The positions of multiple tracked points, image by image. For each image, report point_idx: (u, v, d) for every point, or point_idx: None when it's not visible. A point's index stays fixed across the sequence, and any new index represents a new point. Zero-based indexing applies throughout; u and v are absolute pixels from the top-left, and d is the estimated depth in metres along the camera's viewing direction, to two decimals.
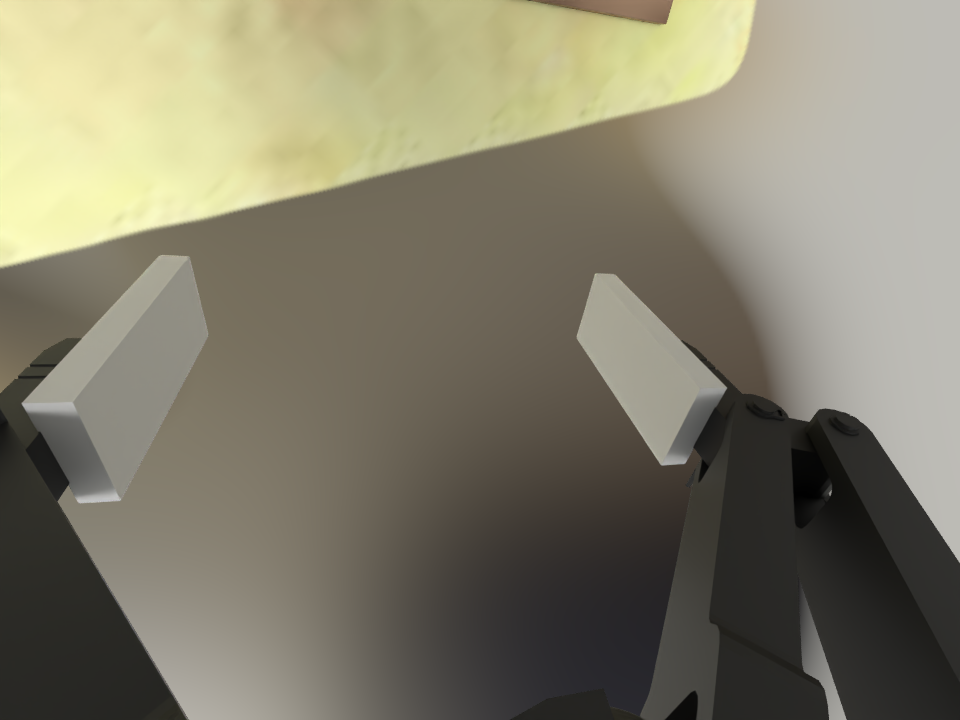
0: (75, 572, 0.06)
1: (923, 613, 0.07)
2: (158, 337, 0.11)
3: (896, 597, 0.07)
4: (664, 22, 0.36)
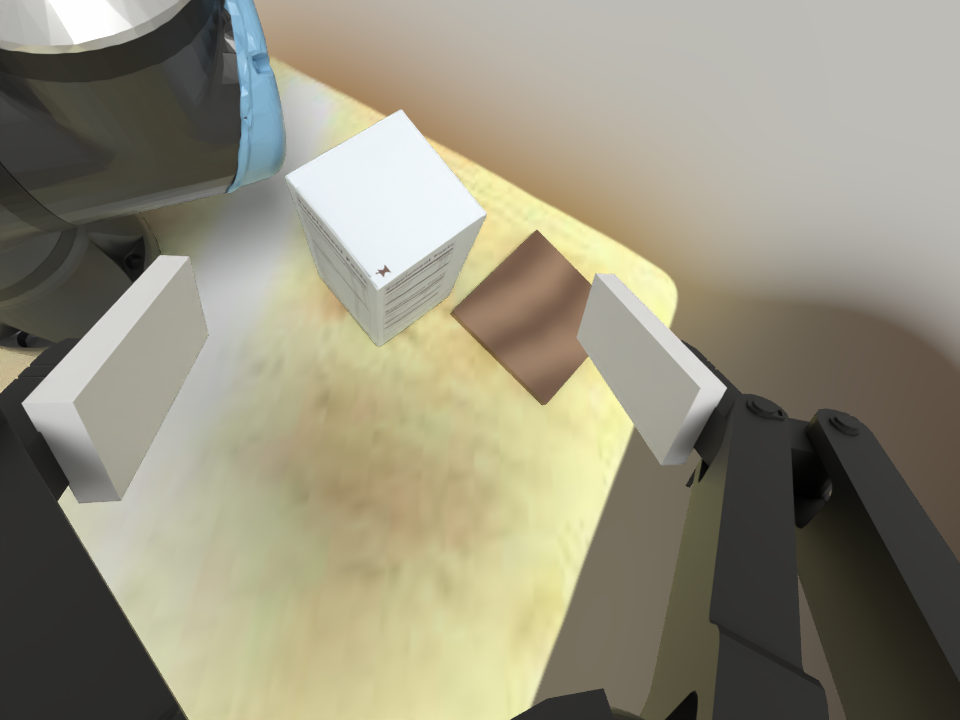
0: (74, 572, 0.06)
1: (923, 613, 0.07)
2: (158, 337, 0.11)
3: (896, 597, 0.07)
4: None
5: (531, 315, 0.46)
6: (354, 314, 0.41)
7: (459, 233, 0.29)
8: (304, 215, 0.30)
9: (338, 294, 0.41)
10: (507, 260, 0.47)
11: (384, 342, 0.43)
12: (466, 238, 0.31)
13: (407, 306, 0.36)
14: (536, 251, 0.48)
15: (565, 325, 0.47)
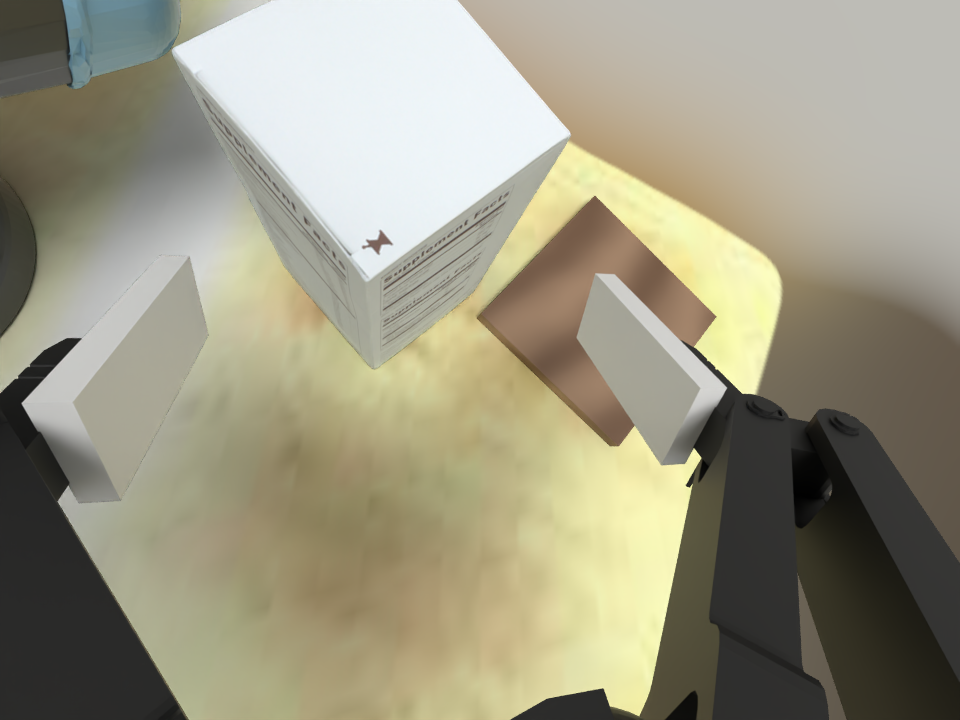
0: (74, 571, 0.06)
1: (923, 613, 0.07)
2: (158, 337, 0.11)
3: (896, 597, 0.07)
4: (714, 317, 0.35)
5: None
6: (335, 322, 0.27)
7: (521, 170, 0.15)
8: (226, 143, 0.16)
9: (310, 292, 0.27)
10: (556, 239, 0.33)
11: (382, 362, 0.29)
12: (528, 185, 0.17)
13: (419, 310, 0.22)
14: (595, 226, 0.34)
15: None
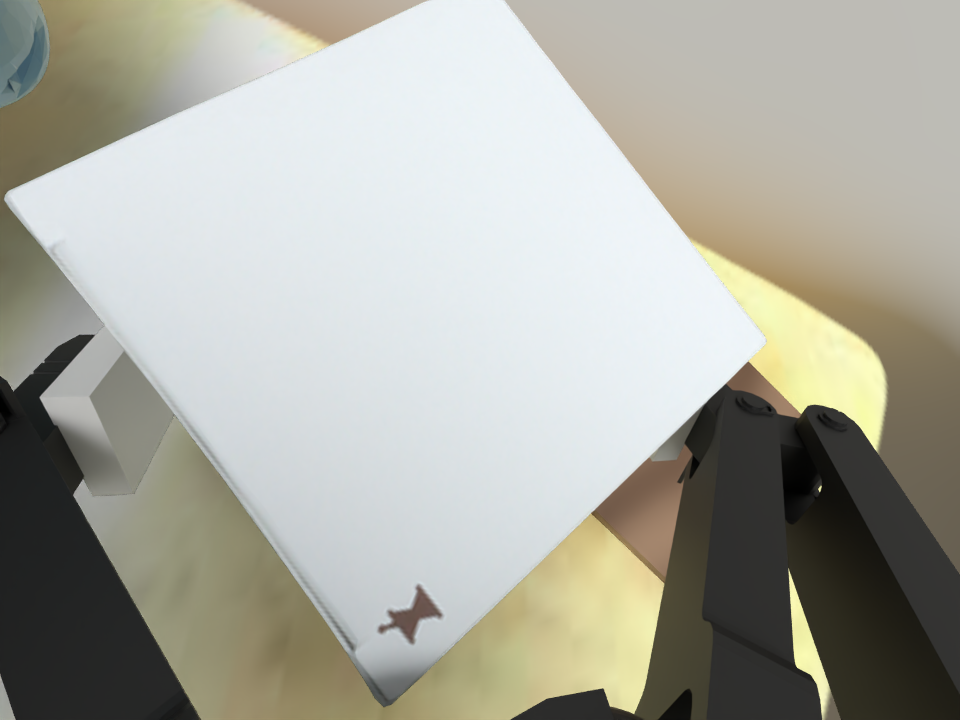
0: (88, 563, 0.06)
1: (913, 608, 0.07)
2: None
3: (886, 591, 0.08)
4: None
5: None
6: None
7: (683, 418, 0.08)
8: None
9: None
10: None
11: None
12: None
13: None
14: None
15: None
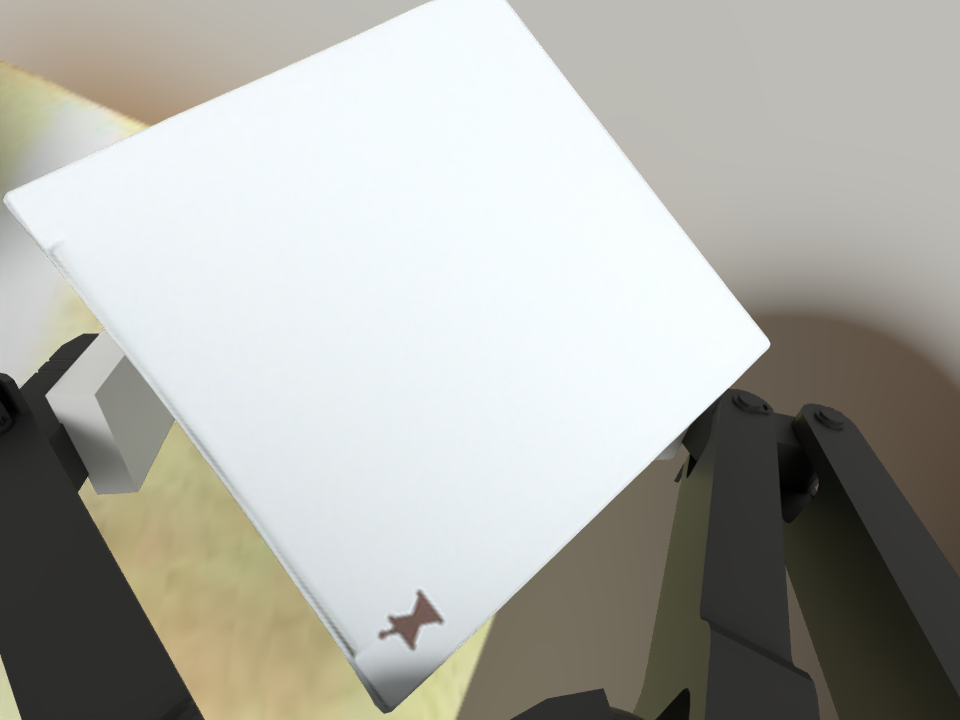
0: (93, 561, 0.06)
1: (910, 606, 0.07)
2: None
3: (883, 590, 0.08)
4: None
5: None
6: None
7: (687, 422, 0.08)
8: None
9: None
10: None
11: None
12: None
13: None
14: None
15: None
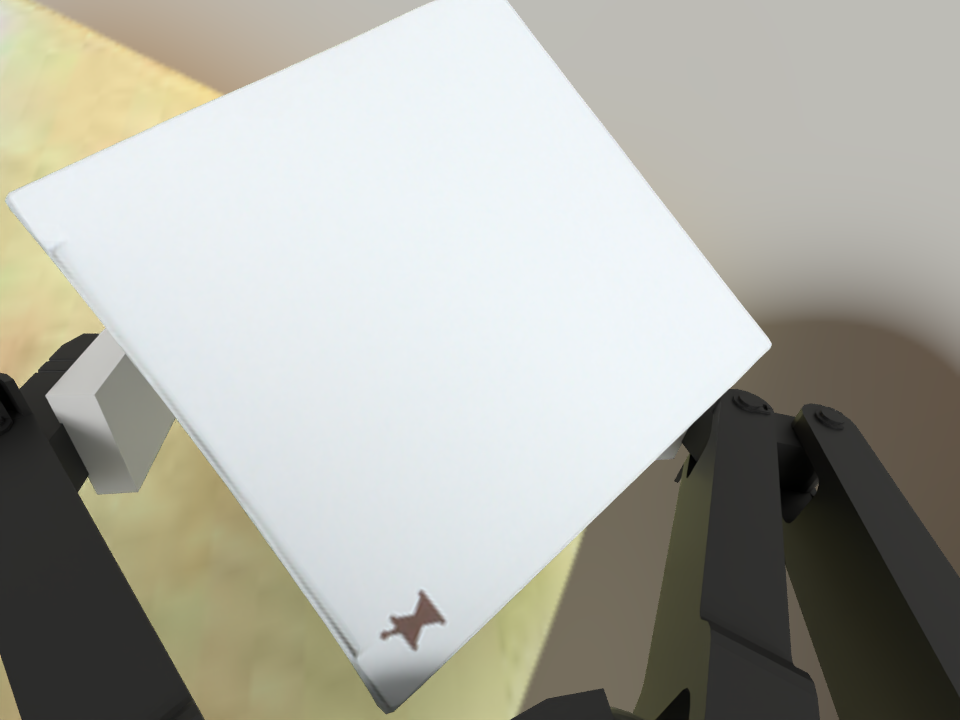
0: (93, 562, 0.06)
1: (910, 606, 0.07)
2: None
3: (883, 590, 0.08)
4: None
5: None
6: None
7: (688, 422, 0.08)
8: None
9: None
10: None
11: None
12: None
13: None
14: None
15: None
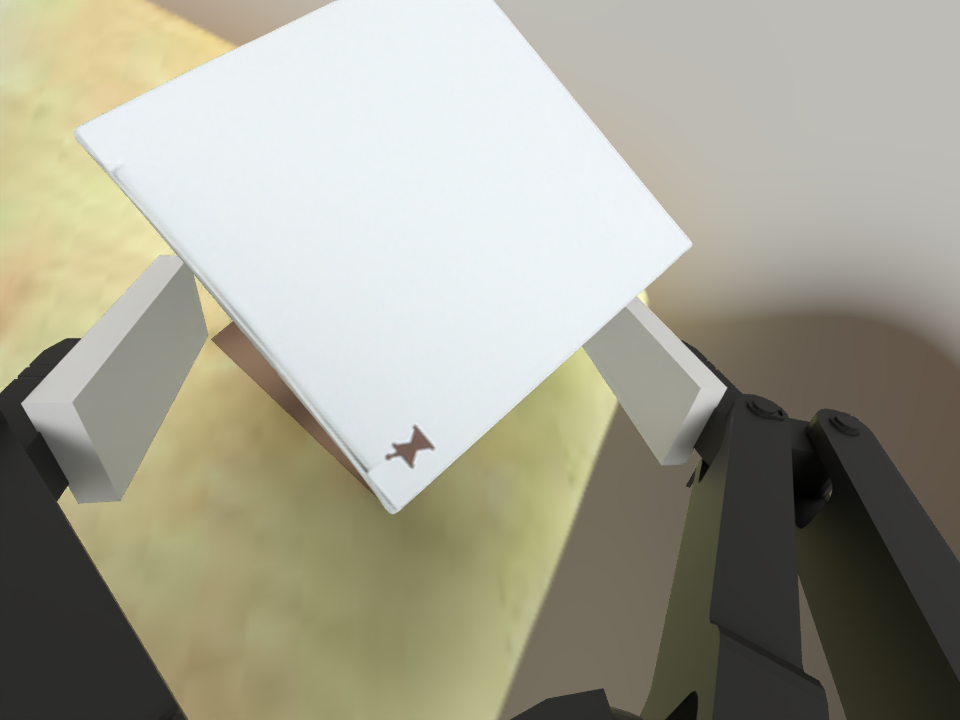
0: (73, 572, 0.06)
1: (923, 613, 0.07)
2: (158, 337, 0.11)
3: (896, 597, 0.07)
4: None
5: None
6: None
7: (624, 306, 0.10)
8: None
9: None
10: None
11: None
12: None
13: None
14: None
15: None
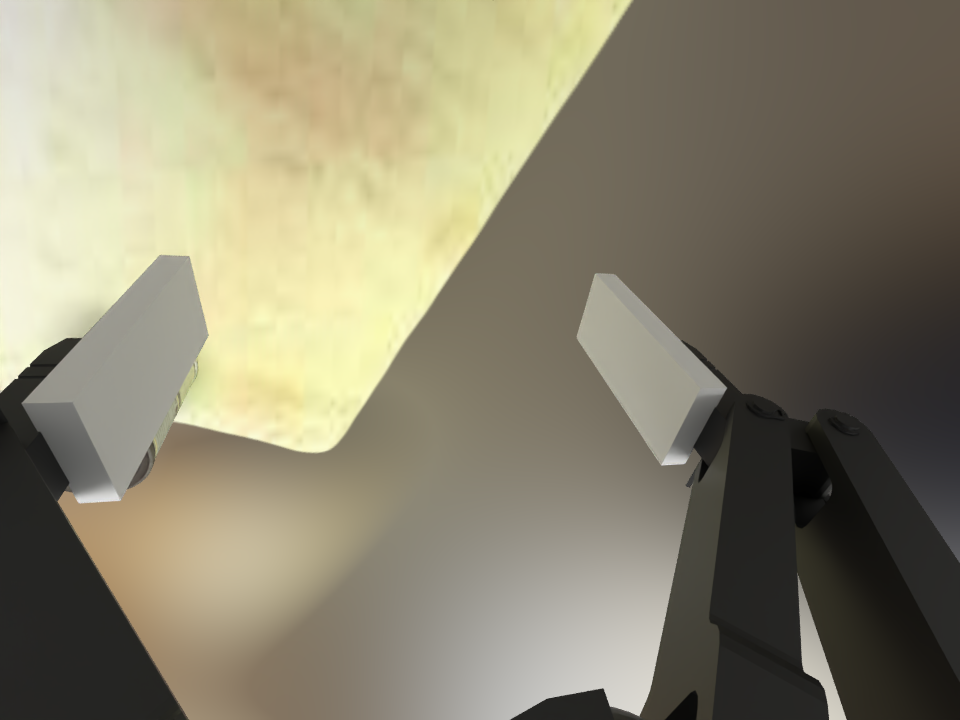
0: (73, 572, 0.06)
1: (923, 613, 0.07)
2: (158, 337, 0.11)
3: (895, 596, 0.07)
4: None
5: None
6: None
7: None
8: None
9: None
10: None
11: None
12: None
13: None
14: None
15: None
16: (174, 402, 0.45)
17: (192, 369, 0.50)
